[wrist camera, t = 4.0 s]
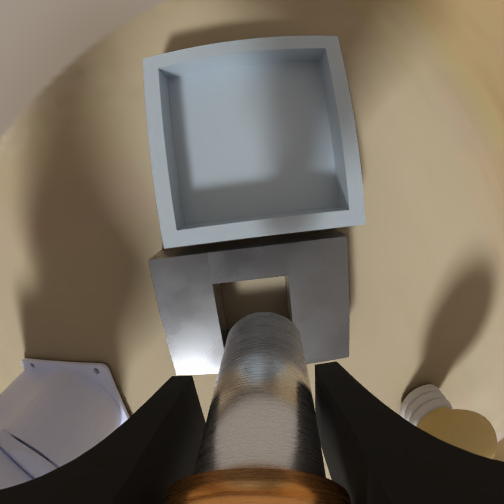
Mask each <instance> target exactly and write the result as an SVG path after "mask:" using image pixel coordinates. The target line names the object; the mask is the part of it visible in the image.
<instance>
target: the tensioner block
mask: <svg viewBox="0 0 504 504" xmlns="http://www.w3.org/2000/svg"><path fill="white" fill-rule="evenodd" d="M148 262H149V267H150V271H151V276H152V281H153V285H154V290H155V294H156V299H157V303H158V307H159V311H160V316H161V320H162V324H163V327H164V331H165V335H166V339H167V343H168V346H169V350H170V354H171V357H172V361H173V364H174V368H175V371H176V374H177V375H196V374H215V373H219V369H220V365H221V361H222V357H223V353H224V349H225V345H226V341H227V337H228V334H229V331H230V330H231V329H227V324H226V318H225V312H224V307H223V301H222V295H221V289H220V283H226V282H235V281H244V280H253V279H261V278H270V277H278V276H285V280H286V291H287V301H288V312H289V320H290V321H291V322H292V323H293V324H294V325H295V326H296V327H297V329H298V330H299V333H300V335H301V339H302V344H303V349H304V355H305V360H306V364H310V363H317V362H323V361H329V360H335V359H341V358H346V357H349V270H348V248H347V236H346V235H344V234H342V233H341V232H339V231H337V230H336V229H329V230H320V231H312V232H303V233H294V234H286V235H277V236H269V237H260V238H252V239H244V240H236V241H228V242H220V243H212V244H204V245H196V246H188V247H180V248H173V249H165V250H161V251H159V252H158V253H157V254H156V255H154V256H153V257H152V258H150V259H149V260H148Z"/></svg>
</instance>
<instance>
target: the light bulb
mask: <svg viewBox="0 0 504 504" xmlns="http://www.w3.org/2000/svg"><path fill="white" fill-rule="evenodd" d="M400 414H401V417H403V418H404V419H406V420H407V421H409V422H410V423H412V424H413V425H415V426H416V427H418V428H420V429H422V430H423V431H425V432H427V433H429V434H431V435H433V436H434V437H436V438H438V439H440V440H442V441H445V442H447V443H449V444H451V445H454V446H456V447H459V448H461V449H464V450H466V451H469V452H472V453H474V454H477V455H480V456H483V457H487V458H490V459H493V458H494V455H495V452H496V448H497V447H496V446H497V437H496V433H495V430H494V428H493V426H492V425H491V423H490V422H489V421H488V420H487V419H486V418H485V417H484V416H482V415H481V414H478V413H476V412H473V411H469V410H460V409H452V406H451V404H450V402H449V401H448V400H447V399H446V398H445V396H444V395H443V394H442V393H441V391H440V390H439V388H438V387H437V386H435V385H432V384H426V385H423V386H420V387H418V388H416V389H414V390H413V391H412V392H410V393H409V394H408V395H407V397H406V398H405V399H404V401H403V403H402V405H401V407H400Z"/></svg>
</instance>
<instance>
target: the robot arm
mask: <svg viewBox="0 0 504 504" xmlns="http://www.w3.org/2000/svg"><path fill="white" fill-rule="evenodd" d="M22 365H23V367H24V369H25V371H24V372H22V373H21V374H20V375H19V376H18V377H17V378H16V379H15V380H14V381H13V382H12V383H11V384H10V385H9V386H8V387H7V388H6V389H5V390H4V391H3V392H2V393H1V394H0V504H164V501H165V498H166V495H167V492H168V490H169V488H170V487H171V486H172V485H173V484H174V483H175V482H177V481H179V480H181V479H183V478H185V477H188V476H191V475H193V474H194V469H195V465H196V461H197V457H198V453H199V449H200V445H201V441H202V437H203V433H204V429H205V425H206V423H205V419H204V416H203V413H202V409H201V406H200V402H199V399H198V395H197V392H196V388H195V385H194V381H193V377H192V376H172V377H171V378H170V379H169V380H168V381H167V382H166V383H165V384H164V385H163V386H162V387H161V388H160V389H159V390H158V391H157V392H156V393H155V394H154V395H153V396H152V397H151V398H150V399H149V400H148V401H147V402H146V403H144V404H143V405H142V406H141V407H140V408H139V409H138V410H137V411H136V412H135V413H134V414H133V415H132V416H131V417H130V416H129V414H128V412H127V410H126V408H125V405H124V403H123V401H122V399H121V396H120V394H119V392H118V389H117V387H116V385H115V382H114V380H113V377H112V375H111V372H110V369H109V368H108V366H107V365H105V364H103V363H82V362H65V361H52V360H40V359H30V358H24V359H23V360H22ZM96 369H98V370H99V371H98V370H96ZM315 415H316V420H317V426H318V432H319V438H320V444H321V447H322V450H323V453H324V457H325V460H326V463H327V466H328V469H329V473H330V476H331V479H332V481H334V482H336V483H338V484H340V485H341V486H343V487H344V488H345V489H346V490H347V492H348V493H349V496H350V500H351V504H504V462H502V461H498V460H494V459H490V458H487V457H483V456H480V455H477V454H474V453H472V452H469V451H466V450H464V449H461V448H459V447H456V446H454V445H451V444H449V443H447V442H445V441H442V440H440V439H438V438H436V437H434V436H433V435H431V434H429V433H427V432H425V431H423V430H422V429H420V428H418V427H416V426H415V425H413V424H412V423H410V422H409V421H407V420H406V419H404V418H403V417H401V416H400V415H398V414H397V413H396V412H394V411H393V410H391V409H390V408H389V407H387V406H386V405H385V404H384V403H382V402H381V401H380V400H379V399H377V398H376V397H375V396H374V395H373V394H371V393H370V392H369V391H368V390H367V389H366V388H364V387H363V386H362V385H361V384H360V383H359V382H358V381H357V380H356V379H354V378H353V377H352V376H351V375H350V374H349V373H348V372H347V371H346V370H345V369H344V368H343V367H342V366H341V365H340V364H339V363H337V362H330V363H324V364H317V365H315Z"/></svg>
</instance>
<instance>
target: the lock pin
mask: <svg viewBox="0 0 504 504" xmlns="http://www.w3.org/2000/svg"><path fill="white" fill-rule="evenodd" d="M164 504H351V500H350V496H349V493H348V492H347V490H346V489H345V488H344V487H343V486H341V485H340V484H338V483H336V482H334V481H332V480H330V479H327V478H326V475H325V469H324V462H323V456H322V450H321V444H320V438H319V432H318V426H317V420H316V415H315V409H314V403H313V398H312V392H311V387H310V381H309V376H308V370H307V365H306V360H305V355H304V349H303V344H302V339H301V335H300V333H299V330H298V329H297V327H296V326H295V325H294V324H293V323H292V322H291V321H290V320H289V319H287V318H286V317H284V316H282V315H279V314H276V313H272V312H256V313H252V314H249V315H247V316H245V317H243V318H241V319H240V320H238V321H237V322H236V323H235V324H234V325H233V327H232V328H231V330H230V331H229V334H228V337H227V341H226V345H225V349H224V353H223V357H222V361H221V365H220V369H219V373H218V377H217V381H216V385H215V389H214V393H213V397H212V401H211V405H210V409H209V413H208V417H207V421H206V425H205V429H204V433H203V437H202V441H201V445H200V449H199V453H198V457H197V461H196V465H195V469H194V474H193V475H191V476H188V477H185V478H183V479H181V480H179V481H177V482H175V483H174V484H173V485H172V486H171V487H170V488H169V490H168V492H167V495H166V498H165V501H164Z"/></svg>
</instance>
